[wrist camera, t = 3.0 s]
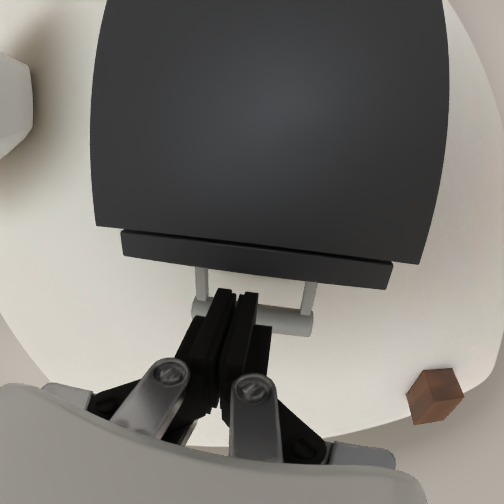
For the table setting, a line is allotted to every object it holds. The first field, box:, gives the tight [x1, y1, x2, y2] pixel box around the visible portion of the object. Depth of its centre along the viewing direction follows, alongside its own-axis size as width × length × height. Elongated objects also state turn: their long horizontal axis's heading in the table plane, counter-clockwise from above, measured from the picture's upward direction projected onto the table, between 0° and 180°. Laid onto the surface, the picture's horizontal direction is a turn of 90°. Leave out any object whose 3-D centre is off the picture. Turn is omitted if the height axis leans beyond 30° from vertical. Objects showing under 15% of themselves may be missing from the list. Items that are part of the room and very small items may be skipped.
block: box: [406, 368, 464, 425], centre depth 21 cm, size 5×5×5 cm
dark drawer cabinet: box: [90, 0, 449, 265], centre depth 10 cm, size 15×13×10 cm
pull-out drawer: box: [120, 229, 393, 337], centre depth 12 cm, size 19×11×8 cm, turn 176°
